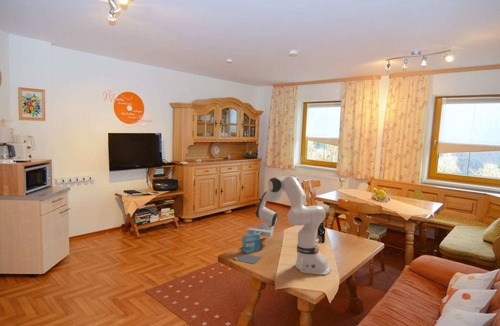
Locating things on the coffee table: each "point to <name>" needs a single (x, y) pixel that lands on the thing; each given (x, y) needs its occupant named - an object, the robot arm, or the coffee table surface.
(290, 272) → the coffee table surface
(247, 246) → the data package
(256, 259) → the mat
